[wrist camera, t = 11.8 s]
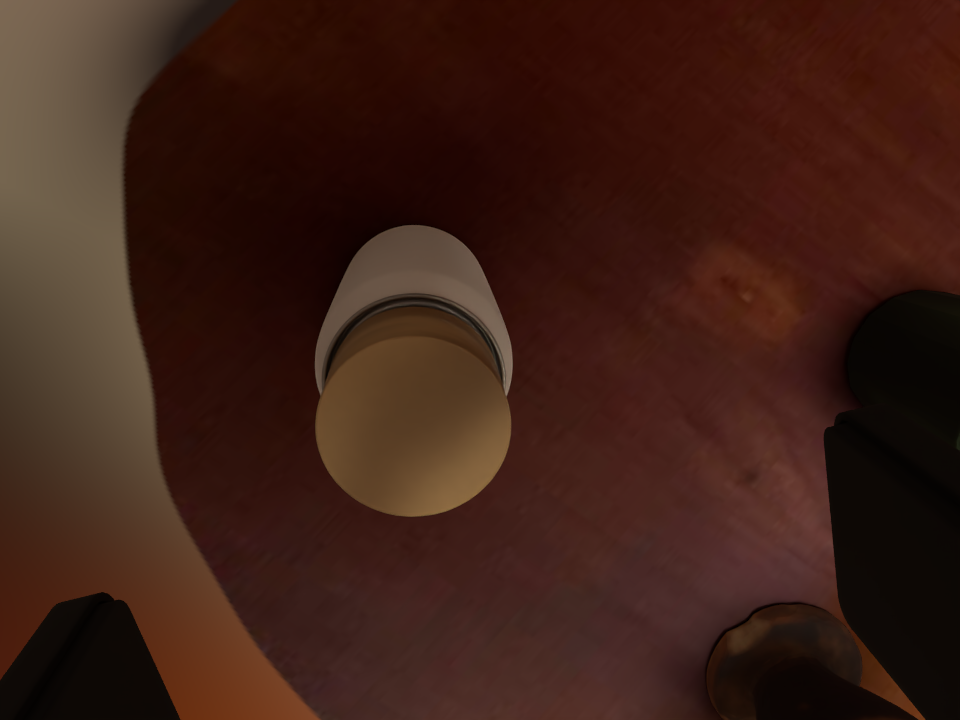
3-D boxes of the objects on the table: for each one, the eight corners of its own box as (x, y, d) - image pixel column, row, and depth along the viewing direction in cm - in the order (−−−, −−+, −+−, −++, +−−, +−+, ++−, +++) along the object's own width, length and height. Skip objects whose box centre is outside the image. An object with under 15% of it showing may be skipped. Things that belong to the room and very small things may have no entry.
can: (465, 377, 36) (487, 499, 25) (328, 344, 35) (286, 455, 24) (504, 244, 35) (546, 310, 23) (361, 205, 34) (333, 254, 22)
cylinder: (291, 383, 23) (272, 423, 20) (421, 270, 23) (422, 295, 20) (407, 497, 25) (406, 551, 22) (533, 395, 24) (550, 436, 21)
